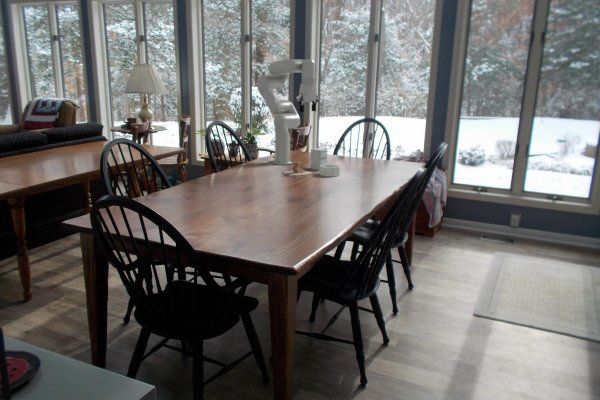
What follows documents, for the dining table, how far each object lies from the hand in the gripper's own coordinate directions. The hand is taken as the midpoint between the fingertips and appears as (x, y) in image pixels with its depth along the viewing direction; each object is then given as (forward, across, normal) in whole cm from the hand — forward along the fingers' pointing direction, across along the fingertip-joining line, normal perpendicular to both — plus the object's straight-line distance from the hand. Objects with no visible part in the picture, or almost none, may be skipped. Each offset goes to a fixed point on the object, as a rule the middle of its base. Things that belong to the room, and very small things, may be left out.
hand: (307, 111), depth 293 cm
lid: (+35, +13, +6) cm, 38 cm away
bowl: (+36, -1, +18) cm, 40 cm away
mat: (+35, +13, +6) cm, 38 cm away
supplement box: (+36, -7, +2) cm, 36 cm away
